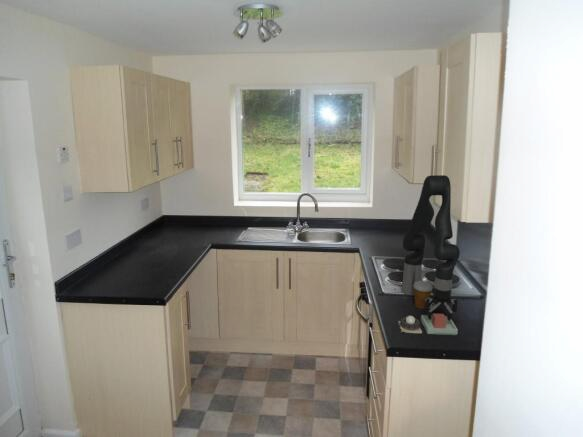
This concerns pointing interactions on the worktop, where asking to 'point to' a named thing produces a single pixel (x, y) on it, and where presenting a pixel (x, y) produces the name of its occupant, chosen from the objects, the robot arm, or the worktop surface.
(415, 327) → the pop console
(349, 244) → the worktop surface
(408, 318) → the dome
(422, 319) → the tray
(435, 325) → the cube
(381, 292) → the worktop surface
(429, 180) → the robot arm
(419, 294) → the disposable coffee cup
